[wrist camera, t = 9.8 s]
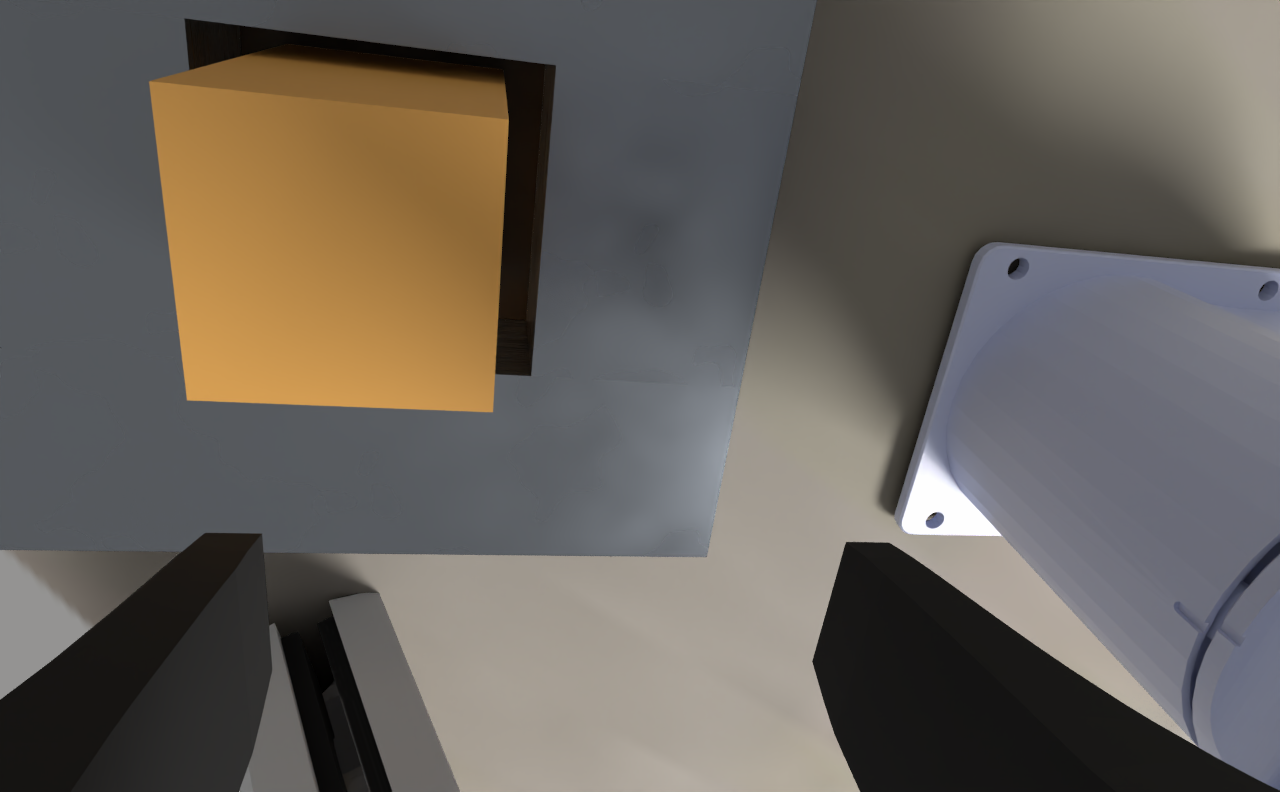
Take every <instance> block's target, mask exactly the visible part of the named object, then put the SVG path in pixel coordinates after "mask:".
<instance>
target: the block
mask: <svg viewBox="0 0 1280 792" xmlns="http://www.w3.org/2000/svg"><path fill="white" fill-rule="evenodd" d="M149 85H150V94H151V102H152V110H153V119H154V127H155V136H156V144H157V152H158V161H159V169H160V177H161V186H162V194H163V203H164V211H165V219H166V228H167V236H168V245H169V253H170V261H171V270H172V278H173V286H174V295H175V303H176V312H177V320H178V328H179V337H180V345H181V354H182V362H183V370H184V379H185V387H186V395H187V400H190V401H216V402H241V403H267V404H292V405H318V406H343V407H369V408H394V409H420V410H445V411H471V412H493V403H494V385H495V366H496V348H497V329H498V311H499V292H500V274H501V256H502V237H503V219H504V200H505V182H506V163H507V145H508V127H509V116H508V107H507V98H506V88H505V79H504V70H503V69H496V68H487V67H479V66H471V65H462V64H454V63H445V62H437V61H428V60H420V59H411V58H403V57H394V56H386V55H377V54H369V53H361V52H352V51H344V50H335V49H327V48H318V47H310V46H301V45H293V44H285V45H281V46H277V47H273V48H270V49H266V50H262V51H259V52H255V53H251V54H248V55H244V56H240V57H237V58H233V59H229V60H225V61H222V62H218V63H214V64H211V65H207V66H203V67H200V68H196V69H192V70H189V71H185V72H181V73H177V74H174V75H170V76H166V77H163V78H159V79H155V80H152V81H149Z"/></svg>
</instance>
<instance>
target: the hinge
mask: <svg viewBox="0 0 1280 792" xmlns="http://www.w3.org/2000/svg"><path fill="white" fill-rule="evenodd" d="M329 604H330V607H331V610H332V613H333V617H330V618H328V619H326V620H324V621H321V622H319V623H317V625H318V628H319V631H320V635H321V638H322V641H323V644H324V648H325V651H326V654H327V657H328V660H329V664H330V667H331V670H332V673H333V677H334V681H333V682H332V684H331V685H330V686H329V687H328V688H327V689H326V690H325V691H324V693H323V694H322V692H321V688H320V685H319V681H318V678H317V676H316V674H315V671H314V669H313V666H312V664H311V661H310V659H309V656H308V654H307V652H306V649H305V647H304V644H303V642H302V639H301V637H300V635H299V632H298V631H297V632H295V633H292V634H290V635H288V636H285V637H283V638H281V636H280V634H279V632H278V630H277V627H276V625H275V623H273V624H272V625H270V626H269V631H270V644H271V657H272V674H271V678H270V683H269V687H268V692H267V696H266V700H265V705H264V709H263V713H262V718H261V722H260V726H259V730H258V734H257V738H256V742H255V746H254V750H253V754H252V757H251V759H250V762H249V765H248V768H247V771H246V773H245V776H244V779H243V782H242V784H241V787H240V792H460V790H459V788H458V785H457V783H456V780H455V778H454V775H453V773H452V770H451V768H450V766H449V763H448V761H447V758H446V756H445V753H444V751H443V748H442V746H441V744H440V741H439V739H438V736H437V734H436V731H435V729H434V726H433V724H432V721H431V719H430V717H429V714H428V712H427V709H426V707H425V704H424V702H423V699H422V697H421V695H420V692H419V690H418V687H417V685H416V682H415V680H414V677H413V675H412V672H411V670H410V668H409V665H408V663H407V660H406V658H405V655H404V653H403V650H402V648H401V646H400V643H399V641H398V638H397V636H396V633H395V631H394V628H393V626H392V623H391V621H390V619H389V616H388V614H387V611H386V609H385V606H384V604H383V601H382V599H381V597H380V594H379V593H359V594H355V595H351V596H346V597H342V598H337V599H333V600H329Z"/></svg>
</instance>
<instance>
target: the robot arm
mask: <svg viewBox="0 0 1280 792" xmlns="http://www.w3.org/2000/svg"><path fill="white" fill-rule="evenodd" d="M1018 258H1019V259H1020V260H1019V266H1018V268H1017V269H1016V270H1015V271H1014V272H1013V273H1011V274H1008V267H1009V266H1010V264H1011V262H1013V261H1014V260H1015V259H1018ZM1264 284H1265V286H1264V288H1263V289H1262V291H1261V292H1259V290H1260V289H1261V287H1262V286H1263V285H1264ZM935 512H937V513H936V515H935V516H934V517H933V518H932V519H930V520H926V519H927V518H928V516H929V515H931V514H932V513H935ZM895 521H896V523H897V525H898V526H899V527H900V529H901V530H902V531H904V532H905V533H907V534H912V535H968V536H1003V537H1004V538H1005V539H1006V540H1007V542H1008V543H1009V544H1010V545H1011V546H1012V547H1013V548H1014V549H1015V550H1016V551H1017V552H1018V553H1019V554H1020V556H1021V557H1022V558H1023V559H1024V560H1025V561H1026V562H1027V563H1028V564H1029V565H1030V566H1031V567H1032V568H1033V570H1034V571H1035V572H1036V573H1037V574H1038V575H1039V576H1040V577H1041V578H1042V579H1043V580H1044V581H1045V582H1046V584H1047V585H1048V586H1049V587H1050V588H1051V589H1052V590H1053V591H1054V592H1055V593H1056V594H1057V595H1058V596H1059V598H1060V599H1061V600H1062V601H1063V602H1064V603H1065V604H1066V605H1067V606H1068V607H1069V608H1070V609H1071V610H1072V612H1073V613H1074V614H1075V615H1076V616H1077V617H1078V618H1079V619H1080V620H1081V621H1082V622H1083V623H1084V624H1085V626H1086V627H1087V628H1088V629H1089V630H1090V631H1091V632H1092V633H1093V634H1094V635H1095V636H1096V637H1097V638H1098V640H1099V641H1100V642H1101V643H1102V644H1103V645H1104V646H1105V647H1106V648H1107V649H1108V650H1109V651H1110V652H1111V654H1112V655H1113V656H1114V657H1115V658H1116V659H1117V660H1118V661H1119V662H1120V663H1121V664H1122V665H1123V667H1124V668H1125V669H1126V670H1127V671H1128V672H1129V673H1130V674H1131V675H1132V676H1133V677H1134V678H1135V679H1136V681H1137V682H1138V683H1139V684H1140V685H1141V686H1142V687H1143V688H1144V689H1145V690H1146V691H1147V692H1148V693H1149V695H1150V696H1151V697H1152V698H1153V699H1154V700H1155V701H1156V702H1157V703H1158V704H1159V705H1160V706H1161V707H1162V709H1163V710H1164V711H1165V712H1166V713H1167V714H1168V715H1169V716H1170V717H1171V718H1172V719H1173V720H1174V721H1175V723H1176V724H1177V725H1178V726H1179V727H1180V728H1181V729H1182V730H1183V731H1184V732H1185V733H1186V734H1187V735H1188V737H1189V738H1190V739H1191V740H1192V741H1193V742H1194V743H1195V744H1196V745H1197V746H1198V747H1197V746H1195V745H1193V744H1192V743H1190V742H1188V741H1186V740H1185V739H1183V738H1181V737H1179V736H1178V735H1176V734H1174V733H1172V732H1171V731H1169V730H1167V729H1165V728H1164V727H1162V726H1160V725H1158V724H1157V723H1155V722H1153V721H1151V720H1150V719H1148V718H1146V717H1145V716H1143V715H1142V714H1140V713H1138V712H1137V711H1135V710H1133V709H1132V708H1130V707H1128V706H1127V705H1125V704H1124V703H1122V702H1120V701H1119V700H1117V699H1116V698H1114V697H1113V696H1111V695H1110V694H1108V693H1106V692H1105V691H1103V690H1102V689H1100V688H1099V687H1097V686H1096V685H1094V684H1093V683H1091V682H1090V681H1088V680H1086V679H1085V678H1083V677H1082V676H1080V675H1079V674H1077V673H1076V672H1074V671H1073V670H1071V669H1069V668H1068V667H1067V666H1065V665H1064V664H1062V663H1061V662H1059V661H1058V660H1056V659H1055V658H1053V657H1052V656H1050V655H1049V654H1047V653H1046V652H1045V651H1043V650H1042V649H1040V648H1039V647H1037V646H1036V645H1034V644H1033V643H1032V642H1030V641H1029V640H1027V639H1026V638H1024V637H1023V636H1022V635H1020V634H1019V633H1017V632H1016V631H1015V630H1013V629H1012V628H1010V627H1009V626H1008V625H1006V624H1005V623H1003V622H1002V621H1000V620H999V619H998V618H996V617H995V616H994V615H992V614H991V613H989V612H988V611H987V610H985V609H984V608H982V607H981V606H980V605H978V604H977V603H976V602H974V601H973V600H971V599H970V598H969V597H967V596H966V595H965V594H963V593H962V592H960V591H959V590H958V589H956V588H955V587H954V586H952V585H951V584H949V583H948V582H947V581H945V580H944V579H942V578H941V577H940V576H938V575H937V574H935V573H934V572H933V571H931V570H930V569H928V568H927V567H925V566H924V565H923V564H921V563H920V562H918V561H917V560H915V559H914V558H912V557H911V556H909V555H908V554H906V553H905V552H903V551H902V550H900V549H898V548H897V547H895V546H893V545H892V544H890V543H874V542H846V544H845V548H844V551H843V555H842V558H841V562H840V565H839V569H838V573H837V576H836V580H835V583H834V587H833V590H832V594H831V597H830V601H829V604H828V608H827V612H826V615H825V619H824V622H823V626H822V629H821V633H820V636H819V640H818V644H817V647H816V651H815V654H814V658H813V661H812V662H813V665H814V669H815V672H816V676H817V679H818V682H819V686H820V689H821V693H822V696H823V700H824V703H825V706H826V709H827V712H828V715H829V718H830V722H831V725H832V728H833V731H834V734H835V736H836V738H837V741H838V743H839V745H840V748H841V750H842V752H843V754H844V757H845V759H846V761H847V763H848V766H849V768H850V770H851V772H852V774H853V777H854V779H855V781H856V783H857V786H858V788H859V790H860V792H1280V269H1278V268H1268V267H1257V266H1247V265H1236V264H1225V263H1215V262H1204V261H1194V260H1183V259H1172V258H1162V257H1151V256H1141V255H1130V254H1120V253H1109V252H1098V251H1088V250H1077V249H1067V248H1056V247H1045V246H1035V245H1024V244H1014V243H1003V242H993V243H989V244H987V245H985V246H983V247H982V248H981V249H980V250H979V251H978V252H977V253H976V254H975V256H974V258H973V260H972V263H971V266H970V269H969V273H968V276H967V279H966V282H965V286H964V289H963V292H962V295H961V299H960V302H959V305H958V309H957V312H956V315H955V318H954V322H953V325H952V328H951V331H950V335H949V338H948V341H947V344H946V348H945V351H944V354H943V358H942V361H941V364H940V367H939V371H938V374H937V377H936V380H935V384H934V387H933V390H932V393H931V397H930V400H929V403H928V407H927V410H926V413H925V416H924V420H923V423H922V426H921V429H920V433H919V436H918V439H917V442H916V446H915V449H914V452H913V456H912V459H911V462H910V465H909V469H908V472H907V475H906V478H905V482H904V485H903V488H902V491H901V495H900V498H899V501H898V505H897V508H896V511H895ZM271 674H272V657H271V644H270V631H269V618H268V605H267V591H266V578H265V565H264V552H263V539H262V534H260V533H204V534H203V535H202V536H200V537H199V538H198V539H197V540H196V541H194V542H193V543H192V544H191V545H190V546H188V547H187V548H186V549H185V550H183V551H182V552H181V553H180V554H179V555H177V556H176V557H175V558H174V559H173V560H172V561H170V562H169V563H168V564H167V565H166V566H165V567H163V568H162V569H161V570H160V571H159V572H158V573H156V574H155V575H154V576H153V577H152V578H151V579H149V580H148V581H147V582H146V583H145V584H144V585H143V586H141V587H140V588H139V589H138V590H137V591H135V592H134V593H133V594H132V595H131V596H130V597H128V598H127V599H126V600H125V601H124V602H123V603H121V604H120V605H119V606H118V607H117V608H116V609H114V610H113V611H112V612H111V613H110V614H108V615H107V616H106V617H105V618H103V619H102V620H101V621H100V622H99V623H97V624H96V625H95V626H94V627H93V628H91V629H90V630H89V631H88V632H86V633H85V634H84V635H83V636H82V637H80V638H79V639H78V640H77V641H75V642H74V643H73V644H72V645H71V646H69V647H68V648H67V649H66V650H65V651H63V652H62V653H61V654H60V655H58V656H57V657H56V658H55V659H53V660H52V661H51V662H50V663H48V664H47V665H46V666H44V667H43V668H42V669H40V670H39V671H38V672H37V673H35V674H34V675H33V676H31V677H30V678H28V679H27V680H26V681H25V682H23V683H22V684H21V685H19V686H18V687H17V688H16V689H14V690H13V691H11V692H10V693H9V694H7V695H6V696H5V697H3V698H2V699H1V700H0V792H239V790H240V787H241V784H242V782H243V779H244V776H245V773H246V771H247V768H248V765H249V762H250V759H251V757H252V754H253V750H254V746H255V742H256V738H257V734H258V730H259V726H260V722H261V718H262V713H263V709H264V705H265V700H266V696H267V692H268V687H269V683H270V678H271Z"/></svg>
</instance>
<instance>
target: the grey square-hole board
mask: <svg viewBox="0 0 1280 792" xmlns="http://www.w3.org/2000/svg"><path fill="white" fill-rule="evenodd" d="M816 2H817V0H0V550H67V551H164V552H182V551H183V550H185V549H186V548H187V547H188V546H190V545H191V544H192V543H193V542H194V541H196V540H197V539H198V538H199V537H200V536H202V535H203V534H204V533H260V534H262V539H263V552H264V553H358V554H455V555H551V556H648V557H707V553H708V548H709V543H710V537H711V532H712V527H713V522H714V517H715V512H716V507H717V502H718V497H719V492H720V487H721V482H722V477H723V472H724V467H725V462H726V457H727V452H728V447H729V442H730V436H731V431H732V426H733V421H734V416H735V411H736V406H737V401H738V396H739V391H740V386H741V381H742V376H743V371H744V366H745V361H746V356H747V351H748V346H749V341H750V335H751V330H752V325H753V320H754V315H755V310H756V305H757V300H758V295H759V290H760V285H761V280H762V275H763V270H764V265H765V260H766V255H767V250H768V245H769V240H770V234H771V229H772V224H773V219H774V214H775V209H776V204H777V199H778V194H779V189H780V184H781V179H782V174H783V169H784V164H785V159H786V154H787V149H788V144H789V139H790V133H791V128H792V123H793V118H794V113H795V108H796V103H797V98H798V93H799V88H800V83H801V78H802V73H803V68H804V63H805V58H806V53H807V48H808V43H809V38H810V32H811V27H812V22H813V17H814V12H815V7H816ZM240 25H241V26H249V27H257V28H265V29H273V30H281V31H288V32H296V33H304V34H312V35H320V36H328V37H336V38H344V39H352V40H360V41H368V42H375V43H383V44H391V45H399V46H407V47H415V48H423V49H431V50H439V51H447V52H455V53H463V54H470V55H478V56H486V57H494V58H502V59H510V60H518V61H526V62H534V63H542V64H545V73H544V86H543V100H542V113H541V126H540V140H539V153H538V166H537V180H536V193H535V206H534V220H533V233H532V246H531V259H530V273H529V286H528V299H527V313H526V321H523V320H508V319H498V329H497V348H496V366H495V385H494V403H493V412H471V411H445V410H420V409H394V408H369V407H343V406H318V405H292V404H267V403H241V402H216V401H190V400H187V395H186V387H185V379H184V370H183V362H182V354H181V345H180V337H179V328H178V320H177V312H176V303H175V295H174V286H173V278H172V270H171V261H170V253H169V245H168V236H167V228H166V219H165V211H164V203H163V194H162V186H161V177H160V169H159V161H158V152H157V144H156V136H155V127H154V119H153V110H152V102H151V94H150V85H149V81H152V80H155V79H159V78H163V77H166V76H170V75H174V74H177V73H181V72H185V71H189V70H192V69H196V68H200V67H203V66H207V65H211V64H214V63H218V62H222V61H225V60H229V59H233V58H237V57H240V56H242V53H241V39H240Z"/></svg>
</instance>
